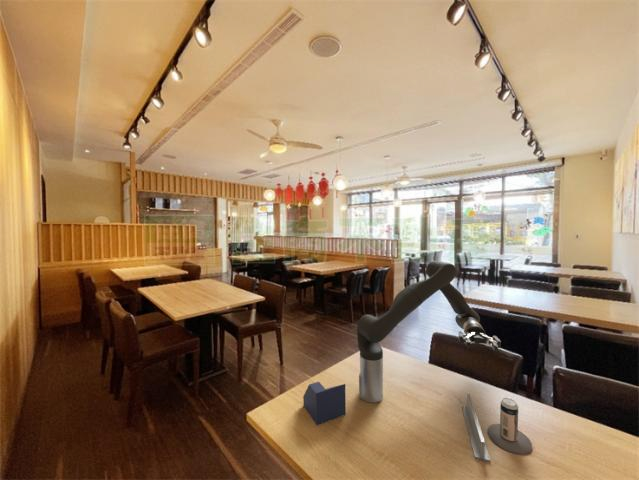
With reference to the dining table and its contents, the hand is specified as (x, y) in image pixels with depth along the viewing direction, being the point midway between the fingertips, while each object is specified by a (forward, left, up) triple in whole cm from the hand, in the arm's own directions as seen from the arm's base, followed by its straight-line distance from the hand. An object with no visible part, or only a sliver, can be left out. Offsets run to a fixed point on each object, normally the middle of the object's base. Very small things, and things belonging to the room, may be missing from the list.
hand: (482, 346), depth 104 cm
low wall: (-5, -14, -24) cm, 28 cm away
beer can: (+5, -14, -24) cm, 28 cm away
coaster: (+5, -14, -24) cm, 28 cm away
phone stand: (-57, -19, -24) cm, 65 cm away
